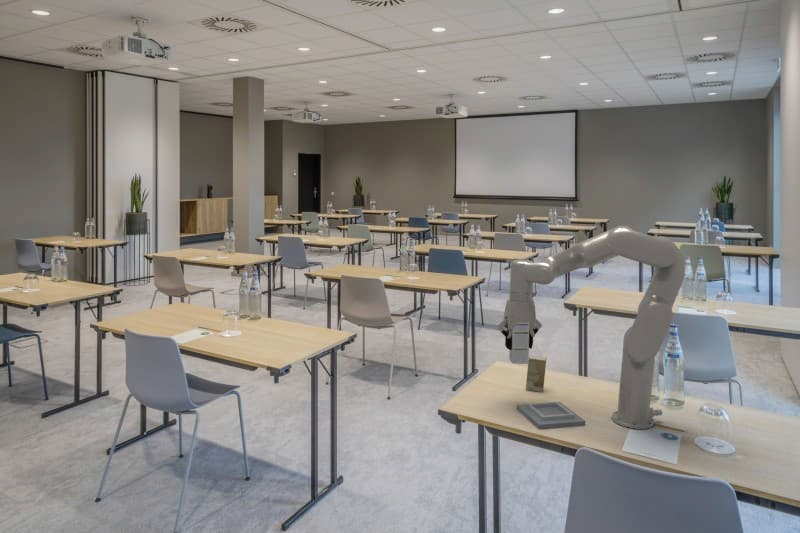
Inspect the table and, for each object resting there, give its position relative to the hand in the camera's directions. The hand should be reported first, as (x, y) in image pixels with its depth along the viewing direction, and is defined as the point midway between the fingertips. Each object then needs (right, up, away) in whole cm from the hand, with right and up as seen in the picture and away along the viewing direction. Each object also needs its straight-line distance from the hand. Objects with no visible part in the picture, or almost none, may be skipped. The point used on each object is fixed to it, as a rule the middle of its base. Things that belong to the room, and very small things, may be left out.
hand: (518, 347), depth 198 cm
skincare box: (+9, -18, +16) cm, 25 cm away
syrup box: (0, -5, +1) cm, 5 cm away
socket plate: (+8, -21, -9) cm, 24 cm away
